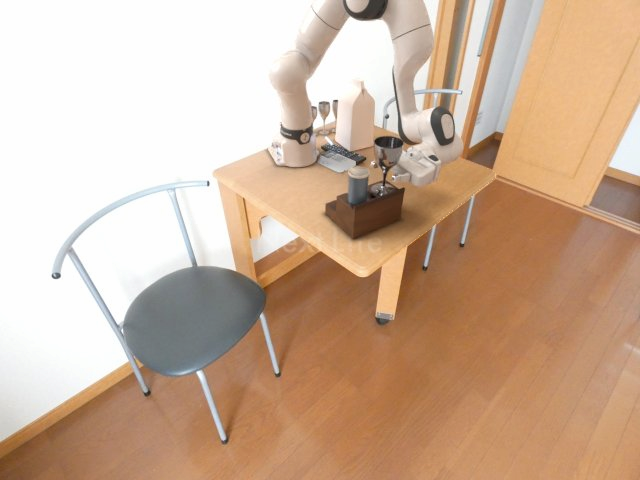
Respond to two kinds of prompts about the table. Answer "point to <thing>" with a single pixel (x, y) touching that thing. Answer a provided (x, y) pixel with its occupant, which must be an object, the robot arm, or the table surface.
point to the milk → (355, 117)
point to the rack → (366, 211)
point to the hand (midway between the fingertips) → (382, 172)
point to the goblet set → (325, 113)
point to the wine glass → (386, 160)
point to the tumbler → (357, 184)
